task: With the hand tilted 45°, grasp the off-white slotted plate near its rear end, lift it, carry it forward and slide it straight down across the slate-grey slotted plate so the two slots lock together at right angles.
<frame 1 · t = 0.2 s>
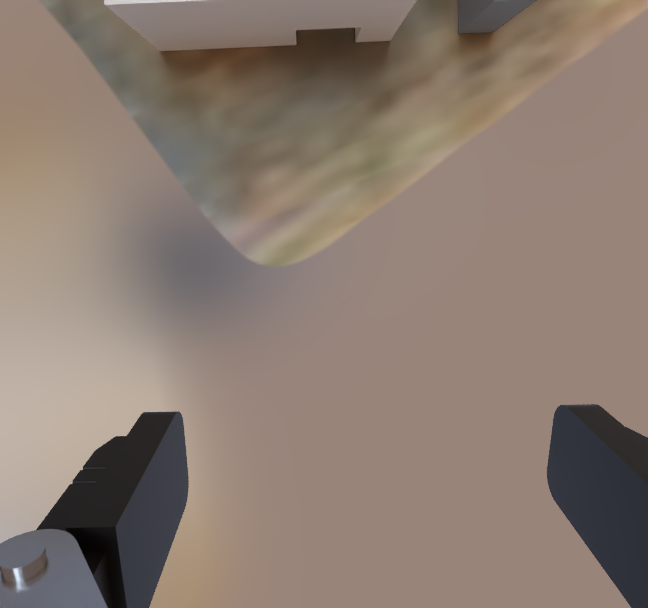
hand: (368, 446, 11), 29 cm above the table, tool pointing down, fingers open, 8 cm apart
white slotted plate: (274, 26, 35), on the table
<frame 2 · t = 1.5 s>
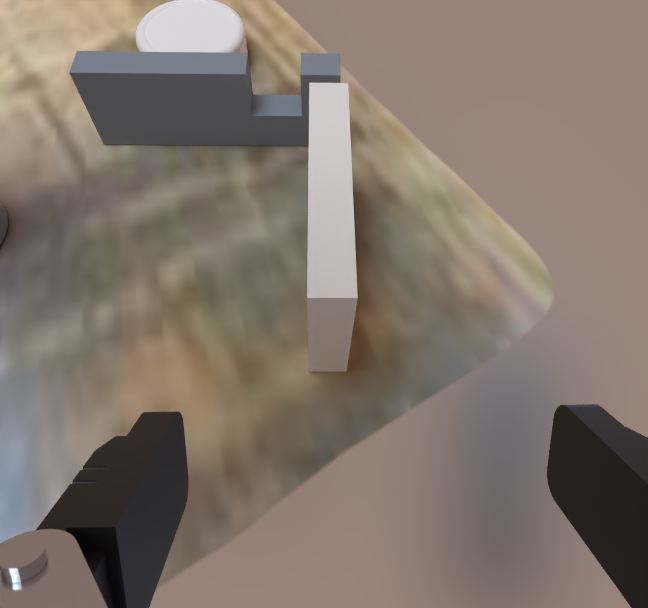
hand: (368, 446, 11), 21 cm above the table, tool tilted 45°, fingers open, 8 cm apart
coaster: (197, 63, 50), on the table
grey slotted plate: (222, 135, 44), on the table
white slotted plate: (326, 270, 38), on the table
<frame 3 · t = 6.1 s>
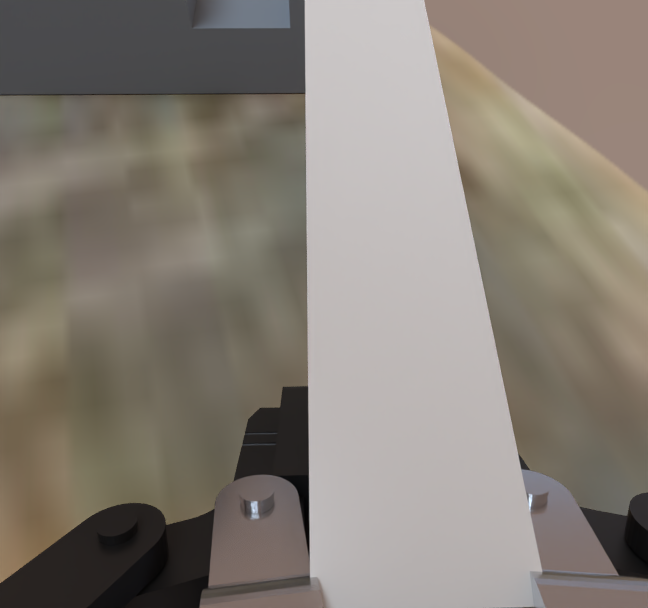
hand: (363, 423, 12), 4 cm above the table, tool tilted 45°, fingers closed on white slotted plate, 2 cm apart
grey slotted plate: (147, 76, 25), on the table
white slotted plate: (346, 334, 18), on the table, touching gripper
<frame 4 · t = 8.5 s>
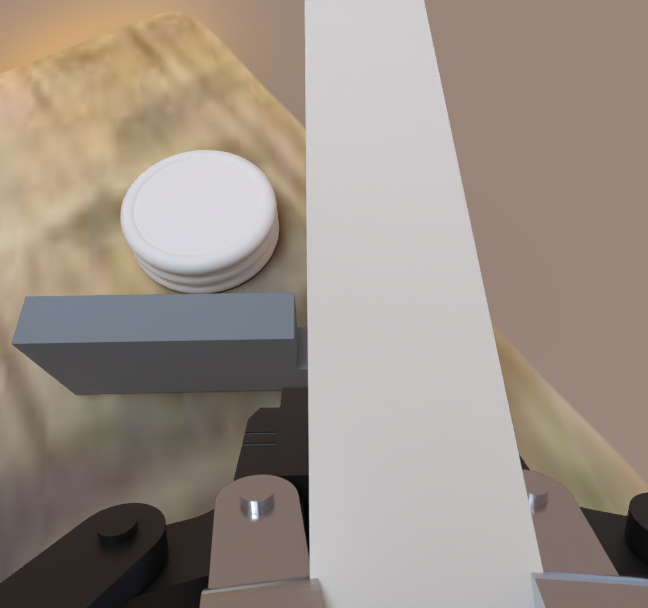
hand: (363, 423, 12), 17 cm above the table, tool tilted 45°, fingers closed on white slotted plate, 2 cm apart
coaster: (208, 237, 36), on the table
grey slotted plate: (249, 370, 30), on the table
white slotted plate: (346, 337, 18), point 12 cm above the table, touching gripper
when the fingers open (5 cm above the table, at t = 11.3 s): white slotted plate stays where it is, on the table.
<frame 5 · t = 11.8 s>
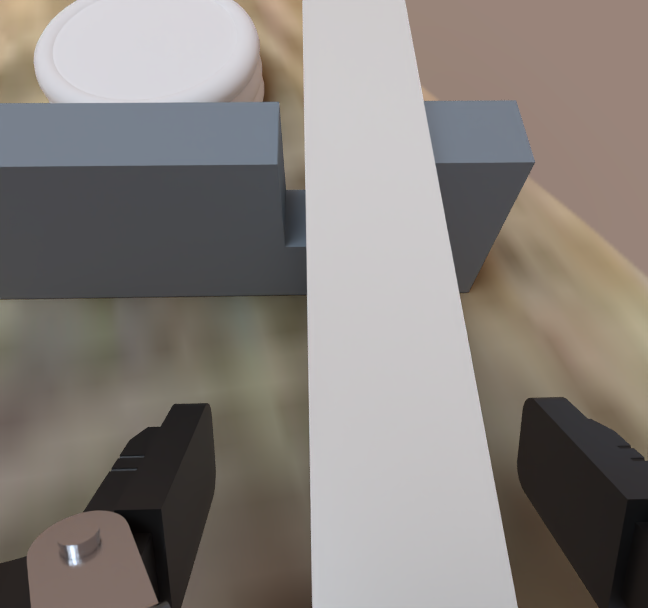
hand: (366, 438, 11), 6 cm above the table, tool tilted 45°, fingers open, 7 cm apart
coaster: (167, 105, 26), on the table
grey slotted plate: (216, 269, 20), on the table
white slotted plate: (343, 361, 19), on the table
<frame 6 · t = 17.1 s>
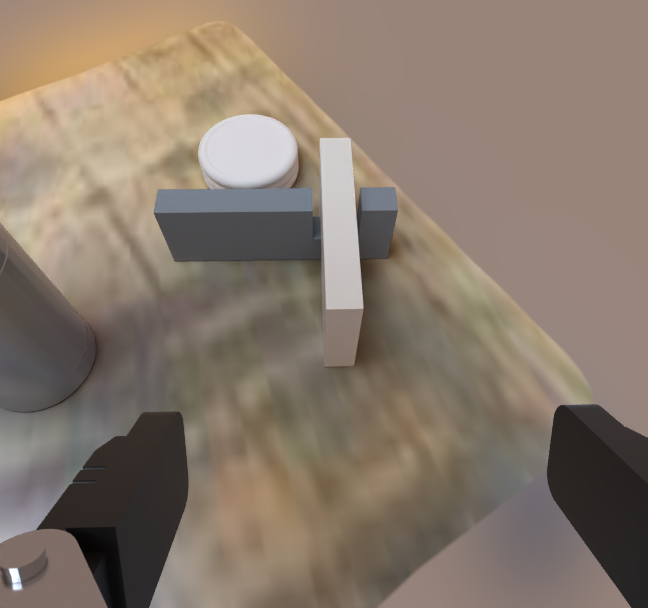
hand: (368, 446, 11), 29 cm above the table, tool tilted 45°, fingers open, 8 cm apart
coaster: (251, 172, 54), on the table
grey slotted plate: (281, 248, 48), on the table
white slotted plate: (335, 284, 46), on the table
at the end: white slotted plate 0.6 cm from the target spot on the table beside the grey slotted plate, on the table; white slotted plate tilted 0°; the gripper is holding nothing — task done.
